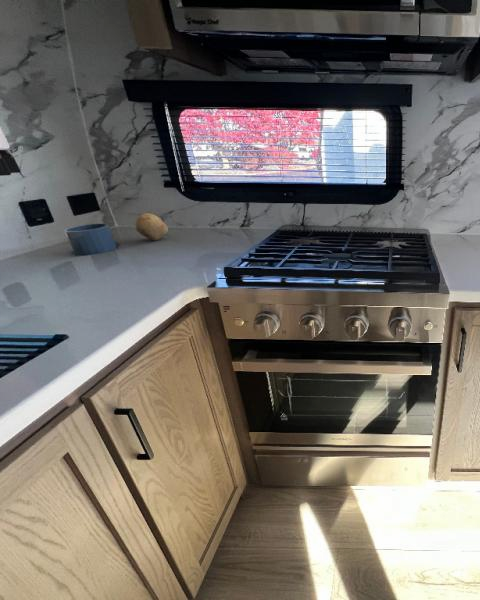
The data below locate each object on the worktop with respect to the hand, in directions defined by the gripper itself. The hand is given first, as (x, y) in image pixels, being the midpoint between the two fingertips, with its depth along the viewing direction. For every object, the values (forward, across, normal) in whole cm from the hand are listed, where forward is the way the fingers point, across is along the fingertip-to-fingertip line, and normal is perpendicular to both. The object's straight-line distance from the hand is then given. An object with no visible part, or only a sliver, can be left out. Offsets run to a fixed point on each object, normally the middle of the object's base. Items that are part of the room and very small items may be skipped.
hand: (8, 174), depth 89 cm
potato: (+26, -14, +26) cm, 40 cm away
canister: (+26, -12, +9) cm, 30 cm away
